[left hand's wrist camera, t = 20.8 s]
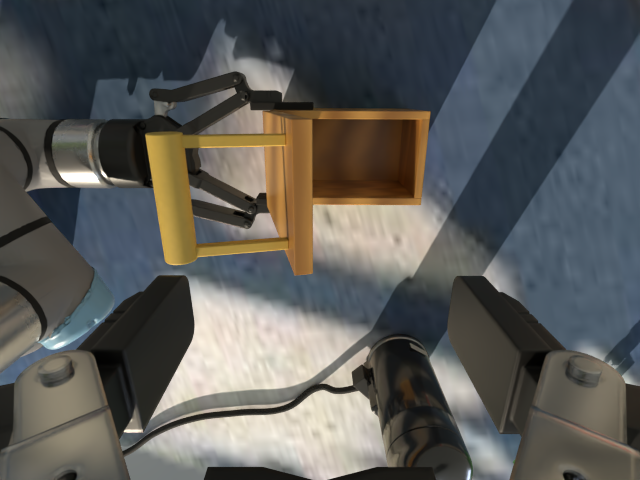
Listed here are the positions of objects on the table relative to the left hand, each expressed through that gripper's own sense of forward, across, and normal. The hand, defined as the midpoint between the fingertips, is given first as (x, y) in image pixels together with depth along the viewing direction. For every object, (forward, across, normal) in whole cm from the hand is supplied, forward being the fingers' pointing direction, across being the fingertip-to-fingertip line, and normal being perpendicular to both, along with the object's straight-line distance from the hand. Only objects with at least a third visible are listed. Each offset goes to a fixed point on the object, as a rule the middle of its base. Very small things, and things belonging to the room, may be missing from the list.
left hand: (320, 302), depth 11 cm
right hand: (+32, +1, 0) cm, 32 cm away
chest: (+39, -3, 0) cm, 39 cm away
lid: (+20, +2, 0) cm, 20 cm away
